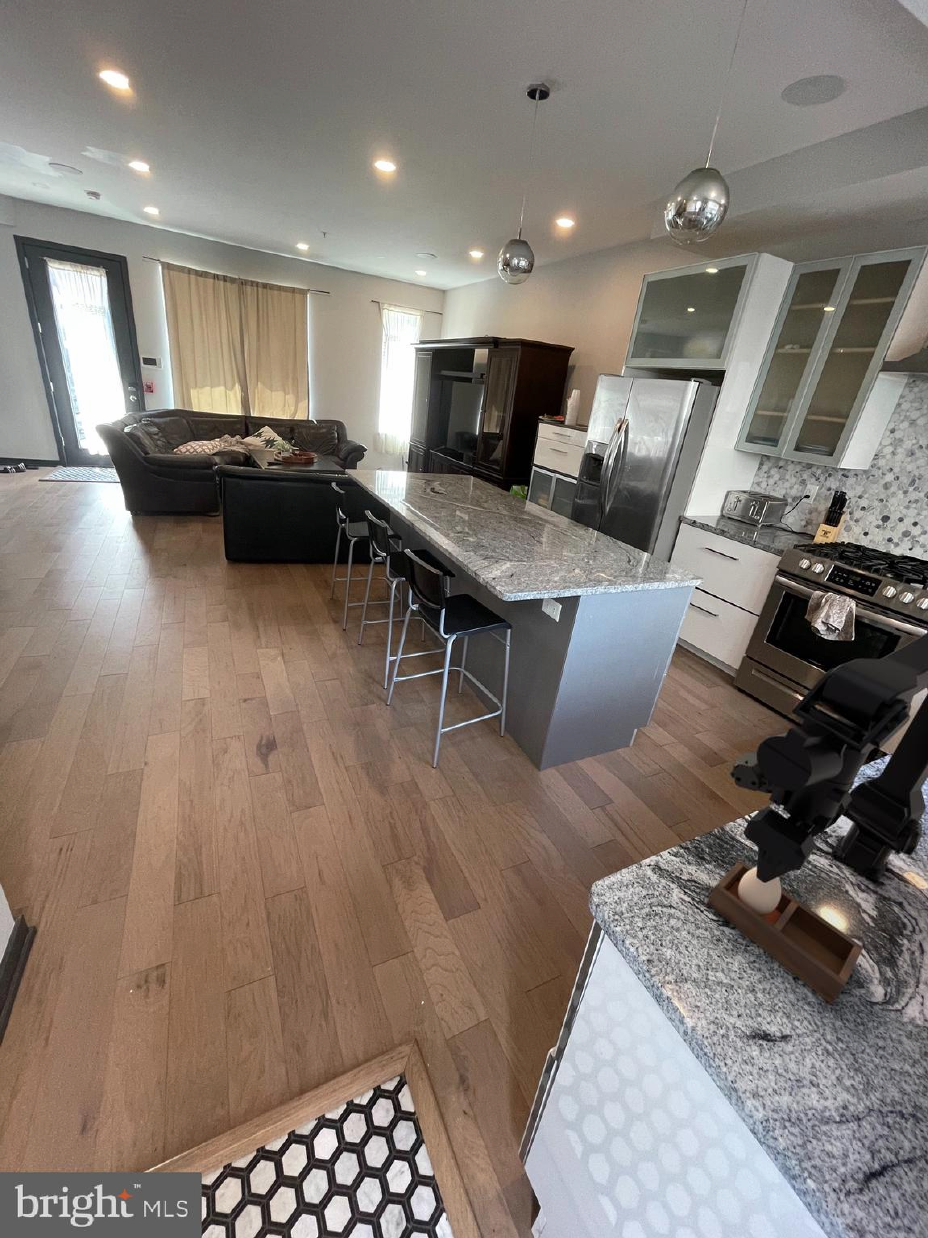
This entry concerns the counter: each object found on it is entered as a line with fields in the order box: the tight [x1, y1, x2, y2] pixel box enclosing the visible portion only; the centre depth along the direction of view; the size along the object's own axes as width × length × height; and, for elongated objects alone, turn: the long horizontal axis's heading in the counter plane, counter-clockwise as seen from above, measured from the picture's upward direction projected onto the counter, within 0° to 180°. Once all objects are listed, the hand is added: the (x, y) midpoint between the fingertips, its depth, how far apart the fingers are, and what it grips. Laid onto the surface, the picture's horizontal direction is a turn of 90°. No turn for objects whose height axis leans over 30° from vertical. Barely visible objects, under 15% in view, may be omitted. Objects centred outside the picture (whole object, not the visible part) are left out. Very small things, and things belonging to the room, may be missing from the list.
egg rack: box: [706, 859, 864, 1005], centre depth 66 cm, size 8×15×4 cm, turn 39°
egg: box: [738, 866, 782, 915], centre depth 68 cm, size 5×5×7 cm
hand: (774, 863), depth 66 cm, fingers open, 9 cm apart
